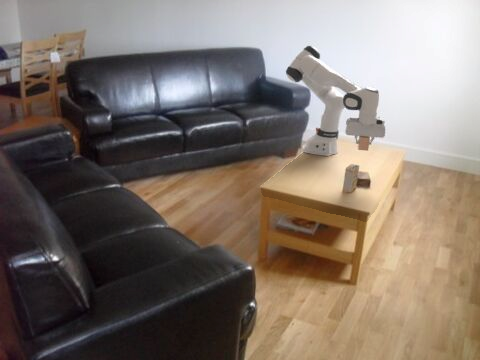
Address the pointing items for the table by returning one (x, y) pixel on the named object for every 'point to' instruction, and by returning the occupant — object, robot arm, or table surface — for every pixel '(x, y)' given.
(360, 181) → the plinth
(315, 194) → the table surface
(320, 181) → the table surface
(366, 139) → the terracotta block
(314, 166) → the table surface
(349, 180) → the supplement box
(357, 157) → the table surface
